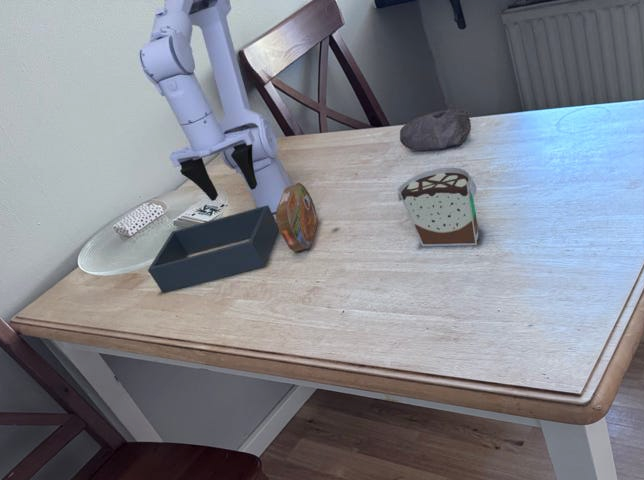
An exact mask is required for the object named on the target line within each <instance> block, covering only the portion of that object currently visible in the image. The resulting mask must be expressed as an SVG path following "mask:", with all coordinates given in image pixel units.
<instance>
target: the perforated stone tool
mask: <svg viewBox="0 0 644 480" xmlns="http://www.w3.org/2000/svg"><path fill="white" fill-rule="evenodd" d="M471 129H472V124H471V119H470V117H469V113H468V110H466V109H464V108H462V107H461V108H453V109H451V108H450V109H444V110H439V111H434V112H430V113H427V114H424V115H421V116H418V117H416V118H414V119H411V120H410V121H408V122H407V123H405V124H404V125H403V126H402V127H401V128H400V130H399V141H400V143H401V144H402V145H403V146H404V147H405V148H407V149H409V150H412V151H415V152H417V151H418V152H419V151H420V152H421V151H425V150H427V151H438V150H439V151H440V150H445V149H446V148H449V147H450V146H454V147H457V146H460V145H462V143H463V142H464V141H466V140H467V139H468V137H469V135H470V134H471Z"/></svg>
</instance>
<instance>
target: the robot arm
mask: <svg viewBox="0 0 644 480" xmlns="http://www.w3.org/2000/svg"><path fill="white" fill-rule="evenodd" d="M231 10H232V6H231V0H164V6H163V7H160V8H158V9H156V10H155V13H154V15H155V16H154V20H153V24H152V29H151V33H150V37H149V42H146V43H144V44H143V45H142V46H141V49H140V50H139V52H138V58H139V62H140V65H141V67H142V71H143V74H144V75H145V76H146V78H147V79H148V80H149V81H150V82H151V83H152V84H153V85H154V87H155V88H156V90H157V92H158V93H159V95H160V96H161V97H165V100H166V101H167V103H168V105H169V106H170V109H171V110H172V112H173V114H174V117H175V118H176V120H177V122H178V124H179V125H180V128H181V130H182V131H183V134H184V135H185V137H186V139H187V141H188V143H189V145H188V146H186V147H184V148H181V149H179V150H175V151H172V153H171V154H170V155H169V157H168V158H169V160H170V161H171V163H172V165H173V167H174V168H177V167H180V170H179V173H181V175H182V176H184V177H186V178H187V179H189V180H190V181H192V182H193V183H194V184H195V185H196V186H197V187H198V188H200V190H201V191H202V192H203V193H204V194H205V195H206V196H207V197H208V199H210V201H211V202H213V201H216V200H217V198H218V196H219V194H218V191H217V189H216V187H215V185H214V183H213V182H212V180H211V178H210V175H209V173H208V171H207V169H206V165H205V162H204V158H207V157H209V156H213V155H216V154H220V157H221V159H222V161H223V163H224V164H225V165H226V167H228V168H229V169H231V170H234V171H235V172H236V174H240V175H241V177H242V179H243V181H244V183H245V185H246V187H247V189H248V191H249V194H250V195H251V197H252V199H253V201H254V204H255V205H256V208H259V207H263V206H267V205H268V206H269V208H270V210H271V212H272V214H273V213H276V211H277V208H278V205H279V202H280V200H281V197H282V195H283V192H284V190H285V189H286V188H287V187H290V186H292V185H293V184H292V182H291V180H290V178H289V175H288V173H287V170H286V168H285V166H284V164H283V162H282V160H281V159H280V158H279V157H278V156H277V155H278V151H279V147H278V141H277V139H276V135H275V134H274V132H273V130H272V127H271V124H270V121H269V120H268V118H266V117H265V116H264V115H262V114H261V113H258V112H256V111H253V110H251V109H252V108H251V106H250V102H249V98H248V94H247V90H246V87H245V83H244V81H243V76H242V73H241V69H240V65H239V62H238V57H237V54H236V50H235V47H234V42H233V39H232V35H231V31H230V27H229V22H228V19H227V16H228V15H229V13H230V11H231ZM193 26H194V27H195V26H196V27H198V28H200V30H201V33H202V37H203V40H204V45H205V48H206V52H207V55H208V59H209V62H210V66H211V69H212V73H213V77H214V81H215V84H216V88H217V91H218V95H219V98H220V103H221V106H222V110H223V112H224V113H223V114H224V116H223V118H222V119H221V121H220V123H219V120H218V119H217V116H216V115H215V112H214V111H213V109H212V107H211V104H210V103H209V101H208V98H207V97H206V94H205V92H204V90H203V88H202V86H201V83H200V82H199V80H198V77H197V76H196V74H195V72H194V71H195V70H196V64H195V59H194V55H193V48H192V46H191V41H192V35H193V29H194V27H193Z"/></svg>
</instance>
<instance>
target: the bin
mask: <svg viewBox="0 0 644 480" xmlns="http://www.w3.org/2000/svg"><path fill="white" fill-rule="evenodd" d="M279 232H280V231H279V228H278V225H277V220H276V217H275V216H274V214H273V213H272V212H271V210H270V208H269V206H268V205H267V206H263V207H259V208H257V207H255V208H252V209H249V210H245V211H241V212H237V213H234V214H231V215H228V216H224V217H223V216H222V217H220V218H216V219H213V220H208V221H205V222H202V223H198V224H195V225H190V226H187V227H184V228H180V229H176V230H173V231H171V233H170V234H169V235H168V237H167V239H166V241H165V242H164V244H163V245H162V247H161V248H160V249H159V251H158V253H157V255H156V256H155V257H154V260H153V261H152V263H151V264H150V266H149V267H148V269H147V271H148V273H149V274H150V276H151V277H152V279H153V280H154V282H155V283H156V285H157V286H158V288H159V289H160V291H161V292H162V293H168V292H172V291H176V290H179V289H183V288H187V287H191V286H195V285H199V284H203V283H207V282H211V281H214V280H219V279H223V278H226V277H231V276H234V275H238V274H241V273H242V274H243V273H246V272H250V271H254V270H259V269H262V268H265V267H266V266H267V262H268V259H269V257H270V254H271V251H272V249H273V247H274V244H275V241H276V238H277V236H278V233H279ZM247 239H249V240H248V241H245V242H244V241H243V240H247ZM239 241H243V242H240V243H237V244H233V245H230V246H226V247H222V248H218V249H214V250H211V251H207V252H203V251H206V250H209V249H213V248H217V247H220V246H225V245H228V244H231V243H235V242H239ZM201 251H202V252H203V253H199V254H196V255H192V254H194V253H198V252H201ZM190 254H191V256H188V255H190ZM187 256H188V257H187Z"/></svg>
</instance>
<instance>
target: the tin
mask: <svg viewBox="0 0 644 480" xmlns="http://www.w3.org/2000/svg"><path fill="white" fill-rule="evenodd" d="M313 201H314V200H313V199H312V196H311V195H310V193H309V191H308V190H307V188H306V187H305V186H304V184H303V183H300V182H297V183H295V184H292V186H290V187H287V188H286V189H285V190H284V192H283V195H282V197H281V200H280V202H279V205H278V208H277V211H276V212H275V220H276V222H277V225H278V228H279V231H278V232H279V233H280V234H281V236H282V238H283V240H284V242H285V244H286V245H287V247H288V248H289V249H290V250H291V251H292V252H300V251H303V250H307V249H310V248H311V247H312V245H313V242H314V241H313V240H314V238H315V233H316V230H317V227H318V214H317V209H316V207H315V204H314V202H313Z"/></svg>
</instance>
